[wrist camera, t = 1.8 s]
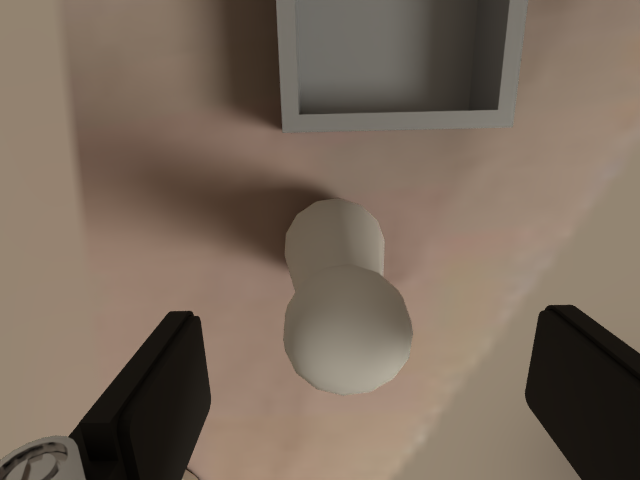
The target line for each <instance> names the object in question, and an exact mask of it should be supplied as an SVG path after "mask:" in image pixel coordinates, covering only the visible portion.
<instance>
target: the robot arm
mask: <svg viewBox="0 0 640 480" xmlns="http://www.w3.org/2000/svg"><path fill="white" fill-rule="evenodd" d="M525 398H526V402H527V404H528V406H529V408H530V409H531V410H532V412H533V413H534V414H535V416H536V417H537V419H538V420H539V421H540V423H541V424H542V425H543V427H544V428H545V430H546V431H547V432H548V434H549V435H550V437H551V438H552V439H553V441H554V442H555V443H556V445H557V446H558V447H559V449H560V450H561V452H562V453H563V455H564V456H565V457H566V459H567V460H568V461H569V463H570V464H571V466H572V467H573V468H574V470H575V471H576V473H577V474H578V475H579V477H580V478H581V479H582V480H640V354H639V353H638V352H637V351H635V350H634V349H633V348H631V347H630V346H628V345H627V344H626V343H624V342H623V341H621V340H620V339H619V338H618V337H616V336H615V335H613V334H612V333H611V332H609V331H608V330H607V329H605V328H604V327H603V326H601V325H600V324H598V323H597V322H596V321H594V320H593V319H592V318H590V317H589V316H588V315H586V314H585V313H583V312H582V311H581V310H579V309H578V308H577V307H575V306H573V305H549V306H547V307H546V308H545V310H544V311H541V312H540V314H539V316H538V322H537V328H536V333H535V339H534V344H533V350H532V356H531V361H530V367H529V373H528V378H527V384H526V389H525ZM210 405H211V393H210V386H209V378H208V371H207V364H206V356H205V349H204V342H203V335H202V327H201V321H200V318H199V316H194V314H193V312H192V311H170V312H169V313H168V314H167V315H166V316H165V318H164V319H163V320H162V321H161V322H160V324H159V325H158V326H157V327H156V329H155V330H154V331H153V332H152V334H151V335H150V336H149V337H148V338H147V340H146V341H145V342H144V343H143V345H142V346H141V347H140V348H139V350H138V351H137V352H136V353H135V355H134V356H133V357H132V358H131V359H130V361H129V362H128V363H127V364H126V366H125V367H124V368H123V369H122V371H121V372H120V373H119V374H118V375H117V377H116V378H115V379H114V380H113V382H112V383H111V384H110V385H109V387H108V388H107V389H106V390H105V391H104V393H103V394H102V395H101V396H100V398H99V399H98V400H97V401H96V403H95V404H94V405H93V406H92V408H91V409H90V410H89V411H88V413H87V414H86V415H85V416H84V417H83V419H82V420H81V421H80V422H79V424H78V425H77V427H76V428H75V429H74V430H73V432H72V433H71V434H70V435H69V437H67V436H50V437H45V438H41V439H38V440H35V441H32V442H30V443H27V444H25V445H23V446H21V447H19V448H18V449H16V450H14V451H12V452H11V453H10V454H8V455H6V456H5V457H4V458H2V459H1V460H0V480H199V479H198V478H197V477H196V476H195V475H193V474H192V473H190V472H189V471H187V470H186V468H187V465H188V463H189V460H190V458H191V455H192V453H193V450H194V448H195V445H196V443H197V440H198V437H199V435H200V432H201V430H202V427H203V425H204V422H205V420H206V417H207V415H208V412H209V409H210Z"/></svg>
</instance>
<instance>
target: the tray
mask: <svg viewBox="0 0 640 480" xmlns="http://www.w3.org/2000/svg"><path fill="white" fill-rule="evenodd" d="M527 5H528V0H276V10H277V31H278V51H279V71H280V92H281V112H282V132H283V133H291V132H334V131H377V130H419V129H462V128H505V127H513V122H514V113H515V105H516V97H517V88H518V80H519V72H520V63H521V55H522V47H523V38H524V30H525V22H526V13H527Z"/></svg>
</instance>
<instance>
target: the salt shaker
mask: <svg viewBox="0 0 640 480" xmlns="http://www.w3.org/2000/svg"><path fill="white" fill-rule="evenodd" d="M384 242H385V241H384V238H383V235H382V232H381V229H380V226H379V223H378V221H377V220H376V219H375V218H374V217H373V216H372V215H371V214H370V213H369V212H368V211H367V210H366V209H365V208H363V207H362V206H361V205H359V204H356V203H353V202H350V201H346V200H343V199H340V198H335V199H328V200H322V201H316V202H315V203H313V204H312V205H310V206H309V207H307V208H306V209H304V210H303V211H301V212H300V213H298V214H297V215H296V217H295V219H294V221H293V222H292V224H291V226H290V228H289V229H288V231H287V233H286V241H285V259H286V262H287V266H288V269H289V272H290V276H291V279H292V282H293V286H294V289H295V294H294V296H293V297H292V299H291V301H290V302H289V304H288V306H287V309H286V313H285V323H284V338H283V341H284V347H285V351H286V353H287V355H288V357H289V359H290V361H291V363H292V365H293V367H294V369H295V371H296V373H297V374H298V375H299V376H301V377H302V378H303V379H305V380H306V381H307V382H308V383H310V384H311V385H312V386H313V387H315V388H316V389H318V390H322V391H326V392H330V393H335V394H339V395H351V394H359V393H368V392H371V391H373V390H375V389H376V388H378V387H380V386H382V385H383V384H385V383H387V382H389V381H390V380H392V379H393V378H394V377H395V376H396V374H397V373H398V372H399V371H400V369H401V368H402V367H403V365H404V364H405V363H406V361H407V360H408V359H409V355H410V348H411V342H412V335H413V331H412V324H411V320H410V317H409V314H408V311H407V308H406V305H405V302H404V299H403V297H402V296H401V294H400V292H399V291H398V290H397V289H396V288H395V287H394V286H393V285H392V284H391V283H389V282H388V281H387V280H386V279H385V278H384V277H383V268H384Z"/></svg>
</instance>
